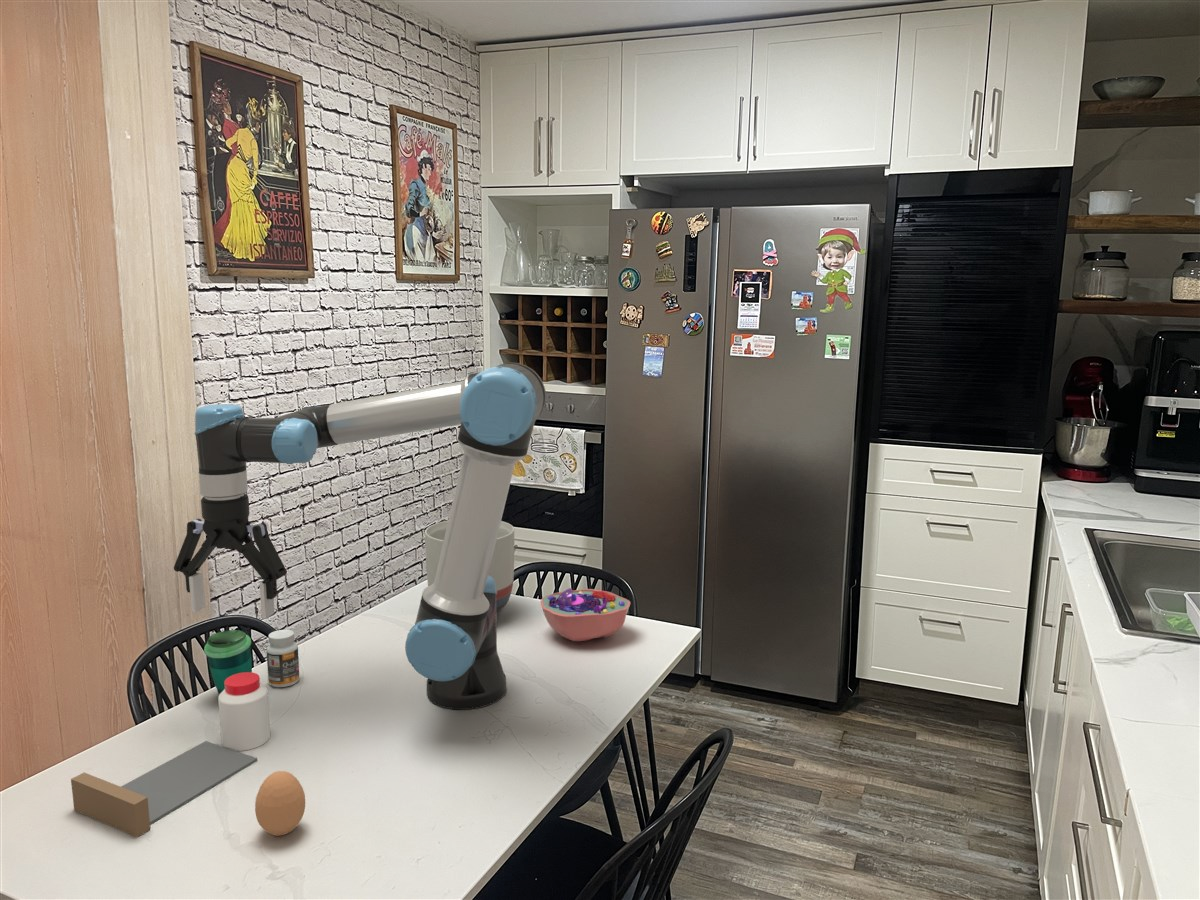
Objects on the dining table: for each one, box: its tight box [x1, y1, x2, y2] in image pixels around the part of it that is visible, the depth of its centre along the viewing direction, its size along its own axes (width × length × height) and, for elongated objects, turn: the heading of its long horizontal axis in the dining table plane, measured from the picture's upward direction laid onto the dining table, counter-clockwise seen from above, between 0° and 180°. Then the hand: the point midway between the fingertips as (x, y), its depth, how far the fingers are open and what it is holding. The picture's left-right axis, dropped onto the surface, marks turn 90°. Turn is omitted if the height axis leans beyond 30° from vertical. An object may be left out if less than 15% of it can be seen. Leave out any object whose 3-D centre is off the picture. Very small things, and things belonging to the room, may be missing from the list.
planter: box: [424, 520, 515, 615], centre depth 200 cm, size 20×20×21 cm
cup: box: [203, 629, 253, 695], centre depth 161 cm, size 8×8×12 cm
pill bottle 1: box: [217, 671, 271, 752], centre depth 145 cm, size 8×8×11 cm
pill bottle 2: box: [266, 629, 300, 688], centre depth 167 cm, size 6×6×10 cm
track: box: [70, 740, 258, 838], centre depth 132 cm, size 14×22×5 cm, turn 154°
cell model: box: [540, 587, 631, 642], centre depth 190 cm, size 17×20×11 cm
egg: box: [254, 770, 306, 837], centre depth 121 cm, size 7×7×9 cm
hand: (233, 613), depth 151 cm, fingers open, 13 cm apart
